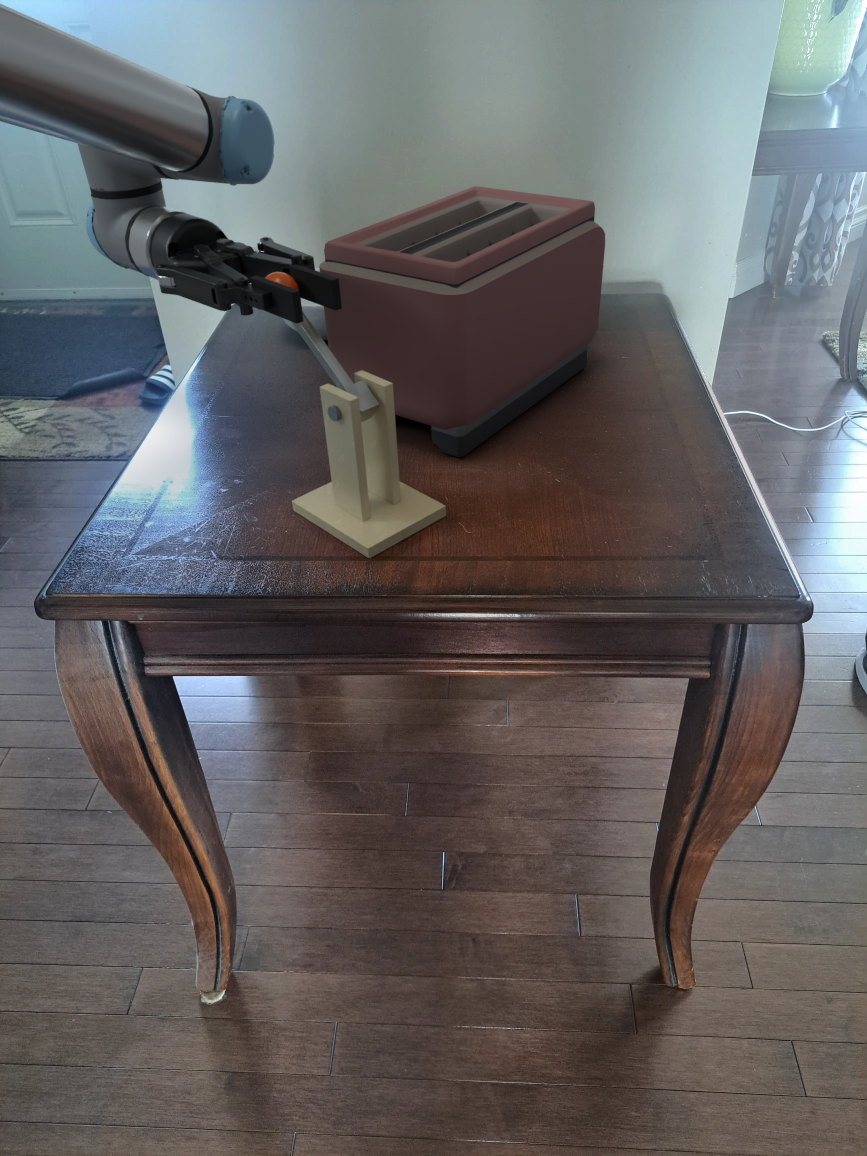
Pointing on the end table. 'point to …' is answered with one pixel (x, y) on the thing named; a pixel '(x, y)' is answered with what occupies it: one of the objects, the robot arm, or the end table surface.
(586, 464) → the end table surface
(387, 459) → the bracket
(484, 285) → the toaster
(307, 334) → the lever
